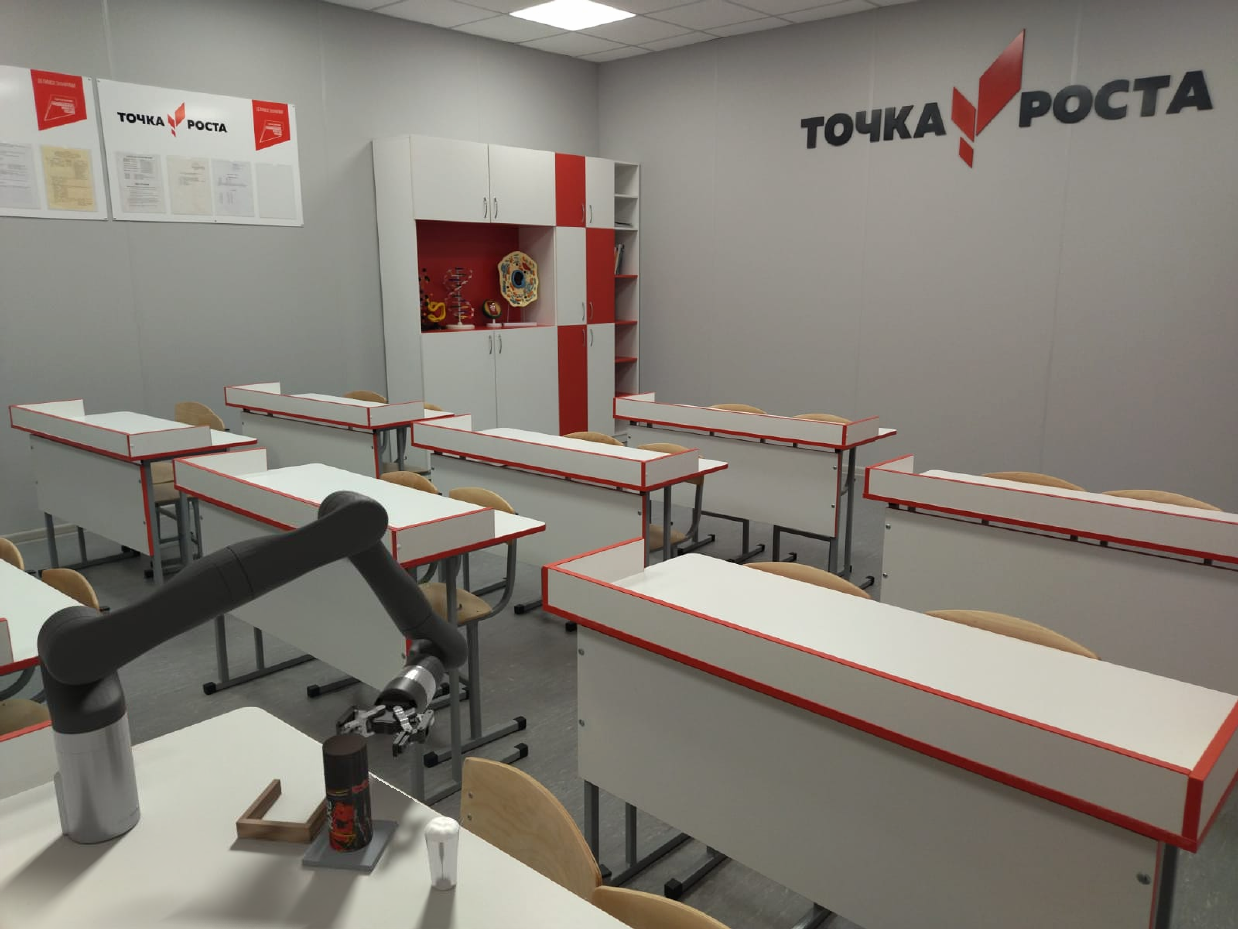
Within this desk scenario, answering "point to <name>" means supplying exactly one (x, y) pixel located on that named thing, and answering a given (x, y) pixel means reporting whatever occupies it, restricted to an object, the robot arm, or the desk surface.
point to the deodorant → (347, 792)
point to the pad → (355, 860)
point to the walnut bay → (278, 830)
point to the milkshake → (442, 851)
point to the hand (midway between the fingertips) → (367, 749)
